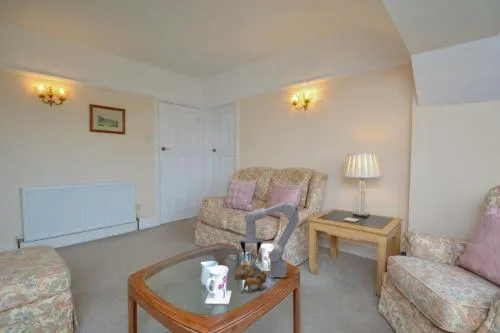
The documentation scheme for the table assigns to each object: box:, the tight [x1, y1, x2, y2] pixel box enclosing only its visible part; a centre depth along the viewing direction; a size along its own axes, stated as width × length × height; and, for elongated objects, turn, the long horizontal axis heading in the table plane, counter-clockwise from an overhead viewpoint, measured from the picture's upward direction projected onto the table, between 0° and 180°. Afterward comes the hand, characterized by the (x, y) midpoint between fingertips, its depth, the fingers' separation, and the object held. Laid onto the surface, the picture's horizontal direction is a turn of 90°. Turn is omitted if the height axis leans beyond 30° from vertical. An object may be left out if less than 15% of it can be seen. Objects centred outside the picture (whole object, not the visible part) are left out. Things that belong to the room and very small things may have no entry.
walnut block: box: [234, 266, 255, 281], centre depth 151 cm, size 10×10×4 cm
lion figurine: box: [241, 270, 268, 294], centre depth 135 cm, size 15×5×9 cm, turn 118°
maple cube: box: [240, 260, 251, 274], centre depth 150 cm, size 5×5×5 cm
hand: (251, 254), depth 157 cm, fingers open, 7 cm apart
